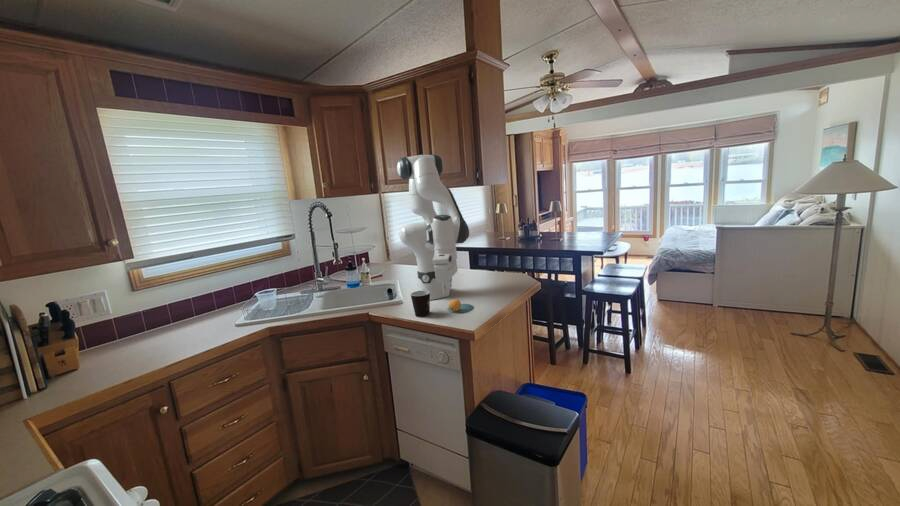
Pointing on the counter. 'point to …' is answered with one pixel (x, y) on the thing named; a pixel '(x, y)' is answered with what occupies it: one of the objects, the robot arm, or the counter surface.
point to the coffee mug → (421, 303)
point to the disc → (463, 308)
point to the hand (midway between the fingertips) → (448, 288)
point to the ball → (454, 305)
